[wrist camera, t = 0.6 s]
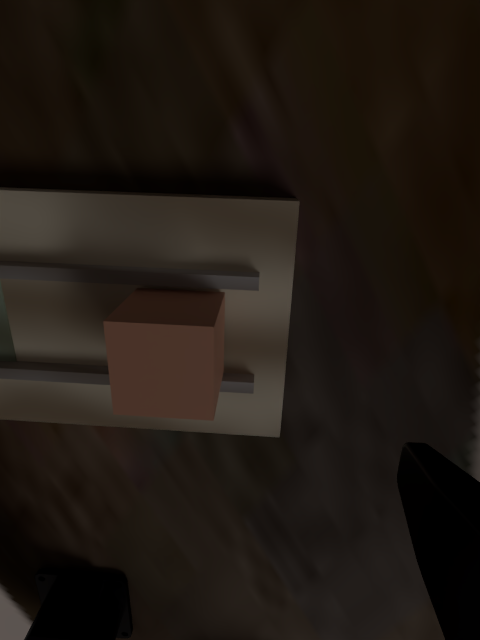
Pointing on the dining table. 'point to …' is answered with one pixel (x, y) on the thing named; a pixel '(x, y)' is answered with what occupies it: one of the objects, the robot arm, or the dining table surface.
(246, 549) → the dining table surface
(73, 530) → the dining table surface
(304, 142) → the dining table surface
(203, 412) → the terracotta cardboard box
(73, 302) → the track board
